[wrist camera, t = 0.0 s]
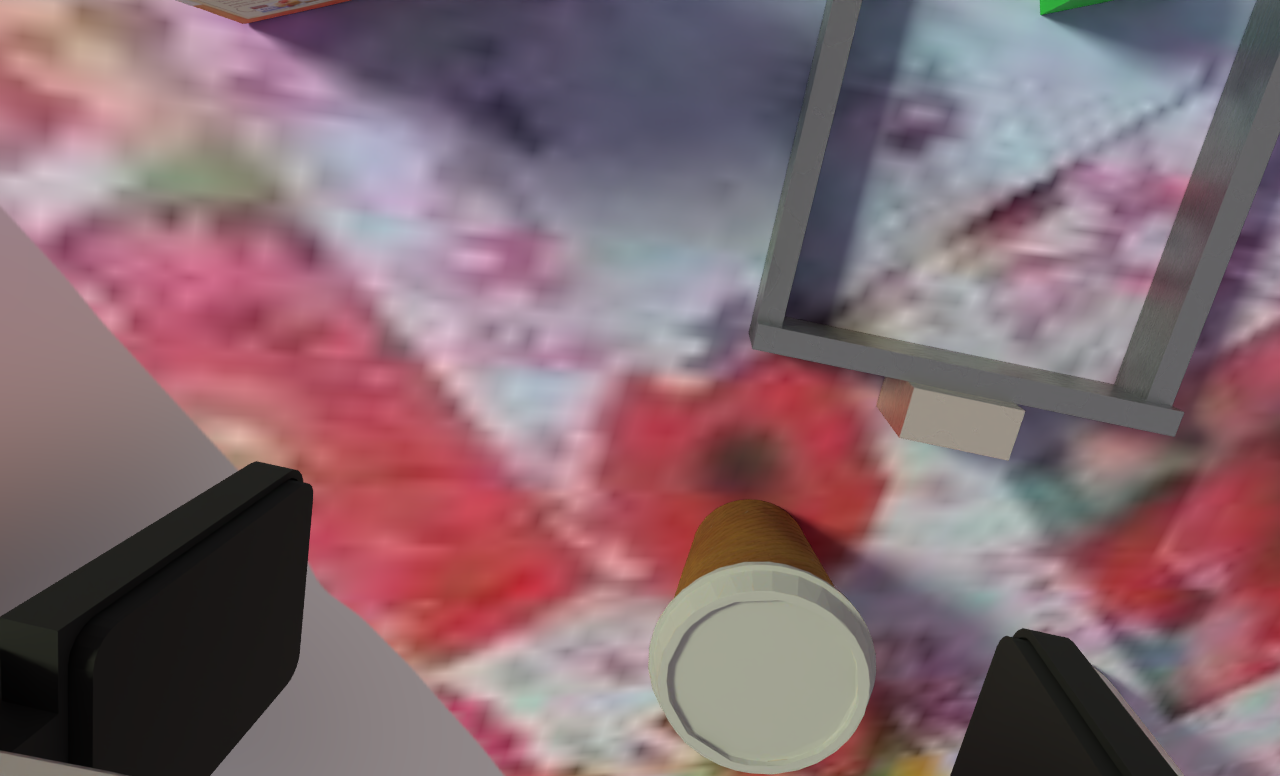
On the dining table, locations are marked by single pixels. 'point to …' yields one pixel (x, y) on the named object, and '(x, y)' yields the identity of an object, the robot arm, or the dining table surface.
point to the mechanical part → (1065, 5)
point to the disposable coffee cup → (760, 647)
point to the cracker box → (257, 8)
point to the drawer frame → (990, 390)
